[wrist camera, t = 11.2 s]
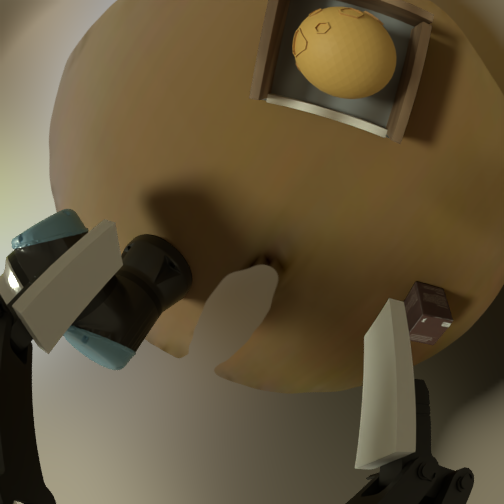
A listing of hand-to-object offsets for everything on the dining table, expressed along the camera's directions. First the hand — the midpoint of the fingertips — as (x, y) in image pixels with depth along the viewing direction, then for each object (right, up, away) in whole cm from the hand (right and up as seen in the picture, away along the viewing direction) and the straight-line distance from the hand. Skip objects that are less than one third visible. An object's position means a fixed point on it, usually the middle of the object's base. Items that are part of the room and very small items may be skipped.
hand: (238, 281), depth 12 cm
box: (+29, -6, +27) cm, 40 cm away
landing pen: (+11, +23, +12) cm, 28 cm away
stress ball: (+11, +23, +11) cm, 28 cm away
